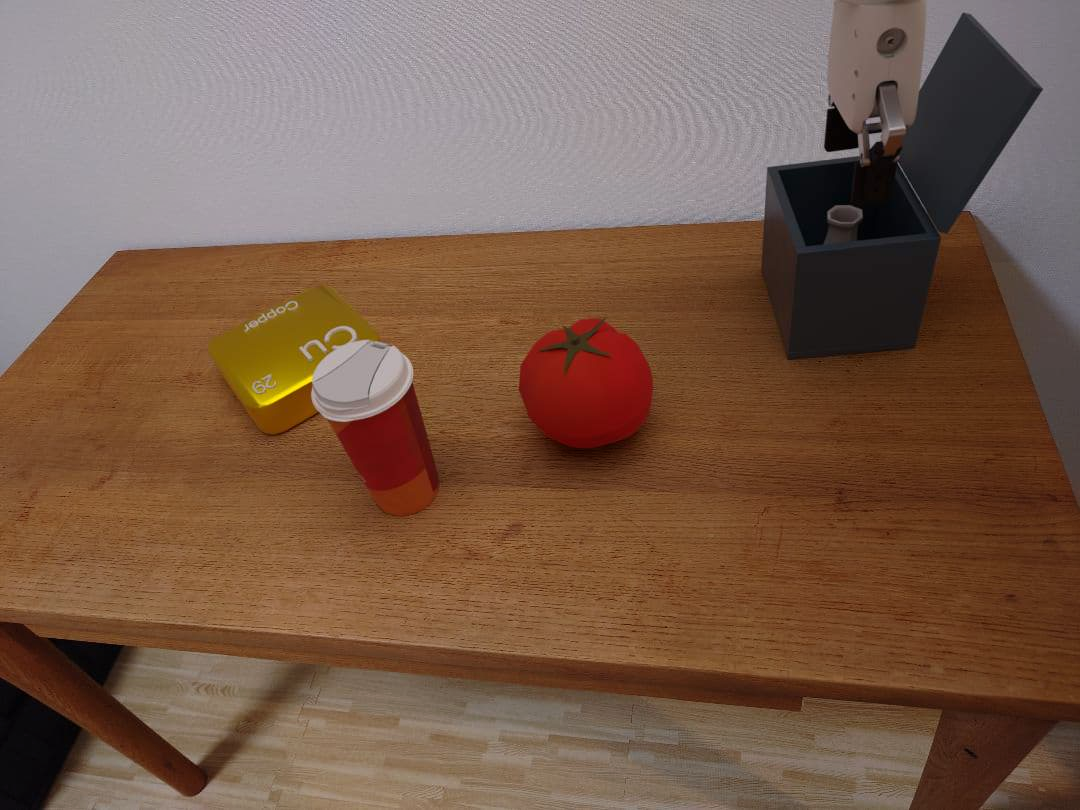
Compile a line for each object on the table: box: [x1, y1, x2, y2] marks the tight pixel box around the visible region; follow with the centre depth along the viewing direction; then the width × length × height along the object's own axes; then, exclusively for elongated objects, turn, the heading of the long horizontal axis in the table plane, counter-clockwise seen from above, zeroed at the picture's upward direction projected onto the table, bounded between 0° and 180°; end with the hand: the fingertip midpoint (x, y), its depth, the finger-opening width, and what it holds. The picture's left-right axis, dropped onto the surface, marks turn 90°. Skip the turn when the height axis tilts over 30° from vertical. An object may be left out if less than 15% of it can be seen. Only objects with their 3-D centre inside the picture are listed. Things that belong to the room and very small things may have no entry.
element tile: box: [207, 284, 382, 435], centre depth 85 cm, size 15×15×5 cm
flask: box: [823, 205, 863, 245], centre depth 78 cm, size 7×7×10 cm
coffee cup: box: [311, 340, 440, 517], centre depth 68 cm, size 8×8×15 cm
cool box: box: [760, 155, 942, 360], centre depth 77 cm, size 12×15×12 cm
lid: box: [897, 12, 1044, 234], centre depth 68 cm, size 13×15×1 cm
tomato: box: [518, 315, 654, 450], centre depth 71 cm, size 12×12×11 cm
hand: (855, 174), depth 71 cm, fingers open, 9 cm apart
